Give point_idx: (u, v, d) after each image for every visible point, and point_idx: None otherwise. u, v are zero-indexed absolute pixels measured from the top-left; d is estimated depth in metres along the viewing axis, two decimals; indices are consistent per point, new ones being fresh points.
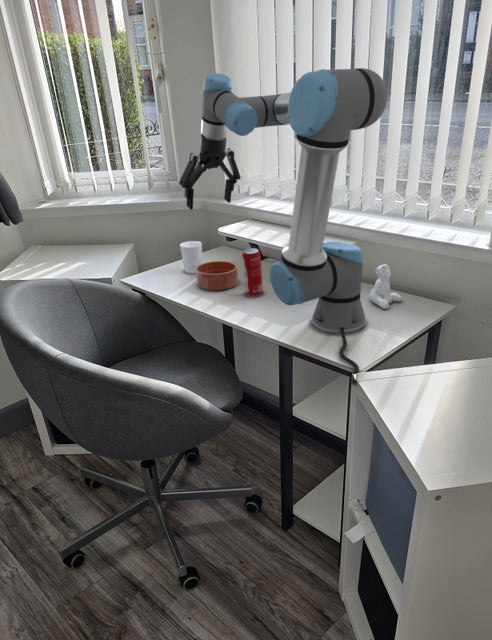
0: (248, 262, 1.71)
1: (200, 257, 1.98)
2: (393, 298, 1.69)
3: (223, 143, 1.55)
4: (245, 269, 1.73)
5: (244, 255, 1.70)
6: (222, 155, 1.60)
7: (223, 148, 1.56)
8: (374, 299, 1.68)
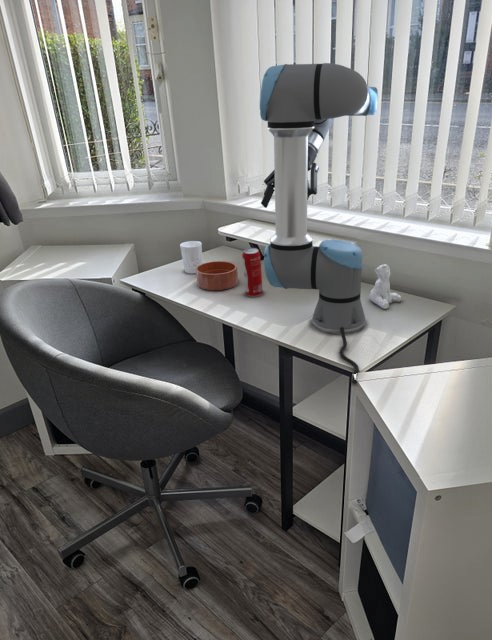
0: (248, 262, 1.71)
1: (200, 257, 1.98)
2: (393, 298, 1.69)
3: None
4: (245, 269, 1.73)
5: (244, 255, 1.70)
6: None
7: None
8: (374, 299, 1.68)
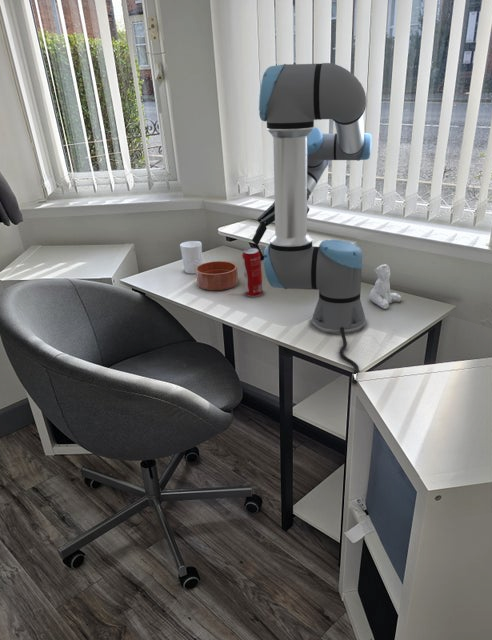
0: (248, 262, 1.71)
1: (200, 257, 1.98)
2: (393, 298, 1.69)
3: None
4: (245, 269, 1.73)
5: (244, 255, 1.70)
6: None
7: None
8: (374, 299, 1.68)
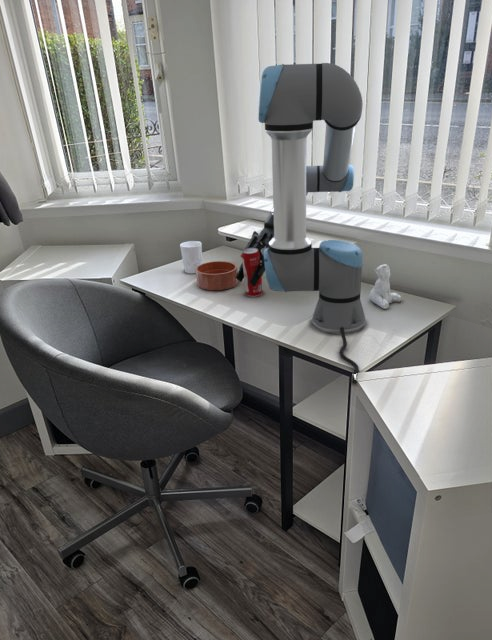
0: (248, 262, 1.71)
1: (200, 257, 1.98)
2: (393, 298, 1.69)
3: None
4: (245, 269, 1.73)
5: (243, 255, 1.70)
6: None
7: (273, 221, 1.71)
8: (374, 299, 1.68)
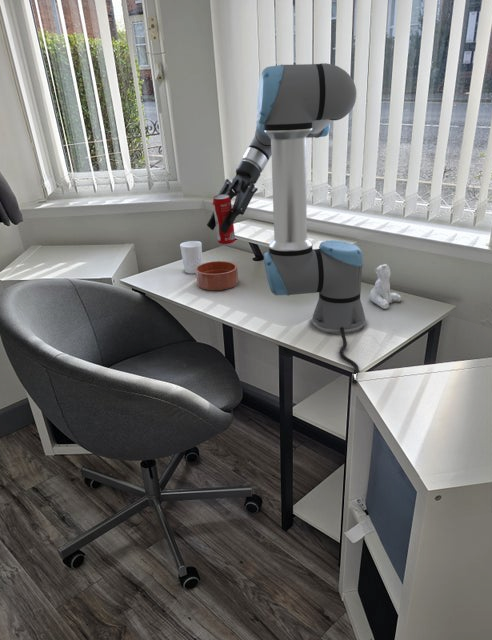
0: (219, 208, 1.69)
1: (200, 257, 1.98)
2: (393, 298, 1.69)
3: (246, 163, 1.70)
4: (216, 216, 1.71)
5: (214, 201, 1.69)
6: (246, 180, 1.71)
7: (244, 167, 1.70)
8: (374, 299, 1.68)
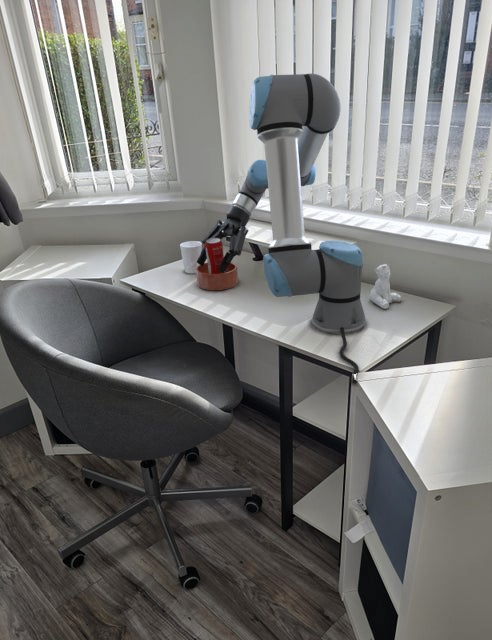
0: (211, 252, 1.80)
1: None
2: (393, 298, 1.69)
3: (236, 208, 1.81)
4: (208, 258, 1.82)
5: (207, 244, 1.79)
6: (236, 225, 1.81)
7: (234, 212, 1.81)
8: (374, 299, 1.68)
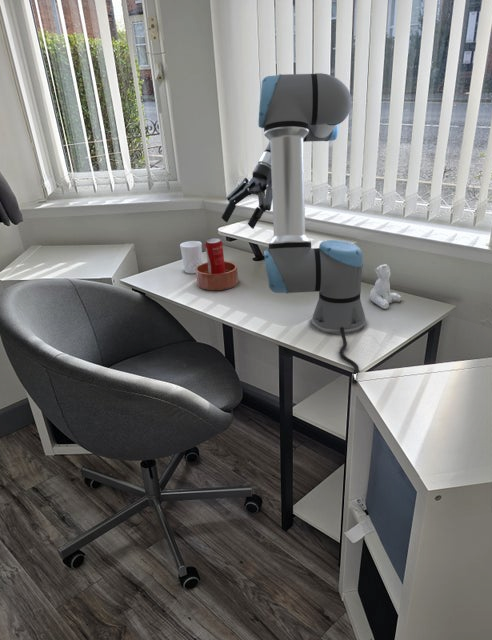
0: (211, 252, 1.80)
1: (200, 257, 1.98)
2: (393, 298, 1.69)
3: (262, 166, 1.82)
4: (208, 258, 1.82)
5: (207, 244, 1.79)
6: (262, 182, 1.83)
7: (261, 169, 1.82)
8: (374, 299, 1.68)
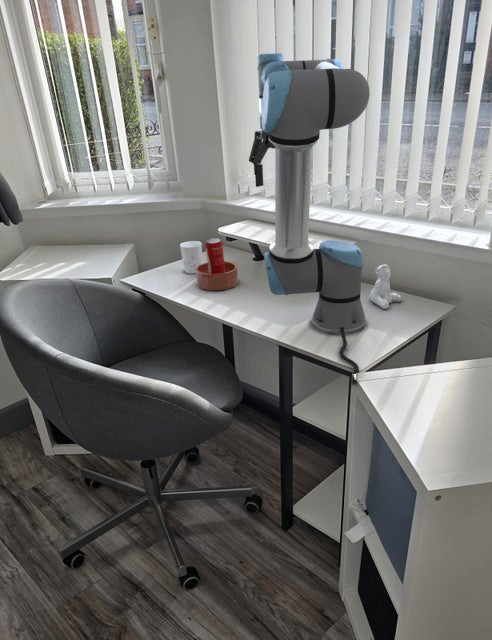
0: (211, 252, 1.80)
1: (200, 257, 1.98)
2: (393, 298, 1.69)
3: None
4: (208, 258, 1.82)
5: (207, 244, 1.79)
6: None
7: None
8: (374, 299, 1.68)
